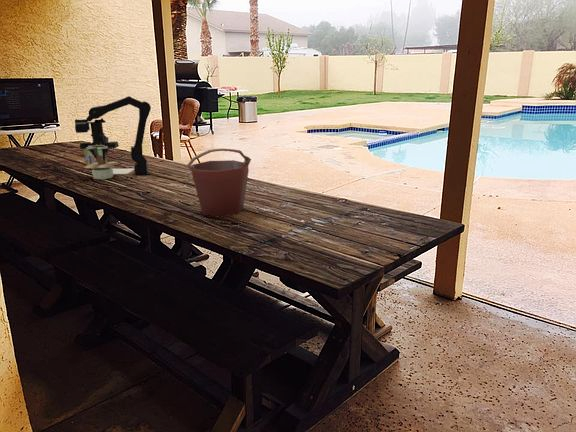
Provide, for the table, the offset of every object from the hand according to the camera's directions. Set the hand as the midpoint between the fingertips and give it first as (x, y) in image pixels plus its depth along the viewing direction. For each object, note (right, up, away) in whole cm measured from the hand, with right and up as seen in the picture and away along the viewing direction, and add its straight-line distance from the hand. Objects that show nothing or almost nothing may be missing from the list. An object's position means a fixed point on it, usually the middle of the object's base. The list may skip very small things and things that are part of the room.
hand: (101, 161), depth 257 cm
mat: (+3, -4, +17) cm, 18 cm away
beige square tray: (0, -2, +1) cm, 2 cm away
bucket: (+73, -27, -63) cm, 100 cm away
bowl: (0, -8, +3) cm, 9 cm away
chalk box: (-14, 0, +31) cm, 34 cm away
